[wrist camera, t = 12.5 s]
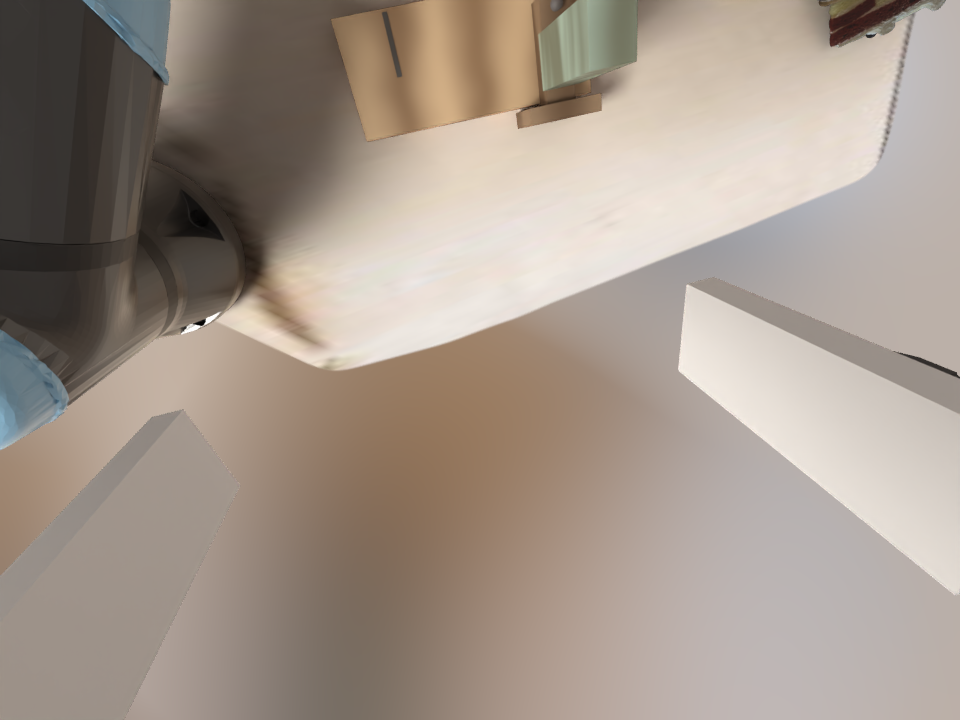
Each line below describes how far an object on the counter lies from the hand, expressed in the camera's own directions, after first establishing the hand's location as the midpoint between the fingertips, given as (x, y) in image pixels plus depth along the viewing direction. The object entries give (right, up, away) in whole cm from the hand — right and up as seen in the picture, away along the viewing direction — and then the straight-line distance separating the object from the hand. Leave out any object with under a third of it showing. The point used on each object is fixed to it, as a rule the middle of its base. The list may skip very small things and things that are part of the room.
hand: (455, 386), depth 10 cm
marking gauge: (+6, +26, +23) cm, 35 cm away
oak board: (0, +26, +22) cm, 34 cm away
